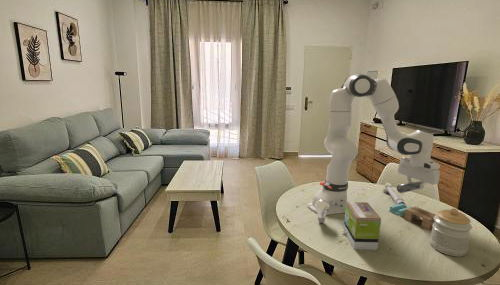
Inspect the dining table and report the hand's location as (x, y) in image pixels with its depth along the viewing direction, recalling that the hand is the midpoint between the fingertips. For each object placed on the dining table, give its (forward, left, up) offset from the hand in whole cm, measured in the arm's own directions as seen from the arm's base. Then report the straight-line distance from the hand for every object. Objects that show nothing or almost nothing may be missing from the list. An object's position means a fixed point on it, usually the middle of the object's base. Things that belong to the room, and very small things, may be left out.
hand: (414, 186), depth 147 cm
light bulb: (-53, +11, -14) cm, 56 cm away
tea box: (-48, -8, -14) cm, 51 cm away
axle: (-4, 0, -2) cm, 4 cm away
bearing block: (-8, -10, -14) cm, 19 cm away
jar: (-19, -28, -14) cm, 37 cm away
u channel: (-6, +2, -14) cm, 15 cm away
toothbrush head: (+6, +15, -15) cm, 22 cm away
